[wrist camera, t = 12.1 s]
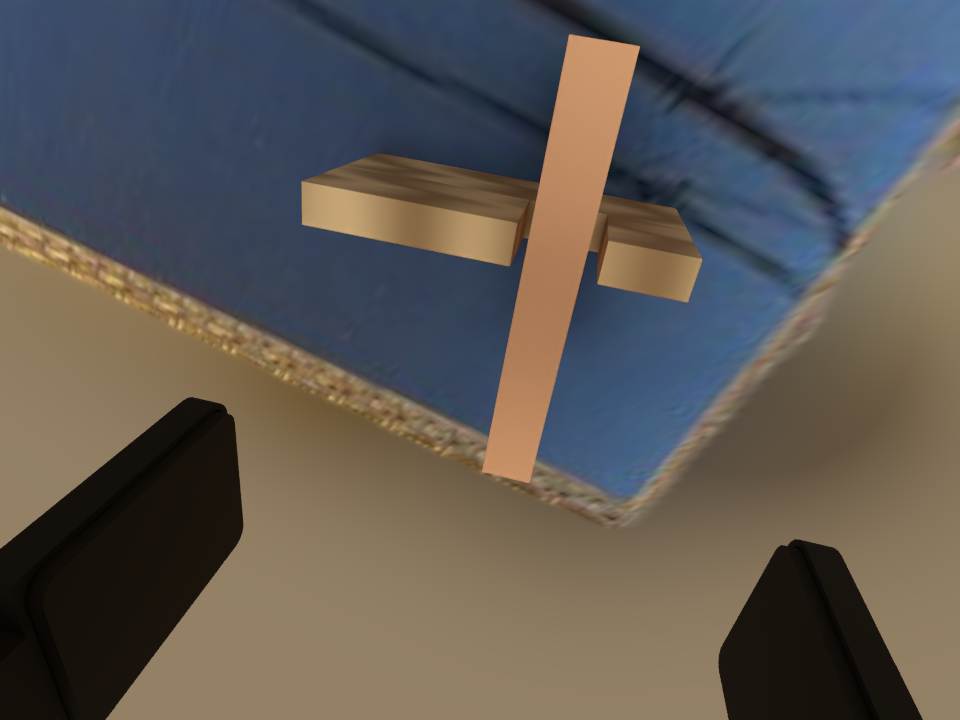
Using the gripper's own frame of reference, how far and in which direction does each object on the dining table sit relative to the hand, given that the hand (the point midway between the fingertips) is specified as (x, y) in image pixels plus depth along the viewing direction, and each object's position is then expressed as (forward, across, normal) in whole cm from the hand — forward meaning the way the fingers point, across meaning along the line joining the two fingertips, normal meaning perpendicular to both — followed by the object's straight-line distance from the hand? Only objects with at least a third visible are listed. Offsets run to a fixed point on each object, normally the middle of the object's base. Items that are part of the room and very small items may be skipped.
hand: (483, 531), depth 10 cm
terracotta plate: (+27, 0, 0) cm, 27 cm away
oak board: (+27, +3, 0) cm, 27 cm away
